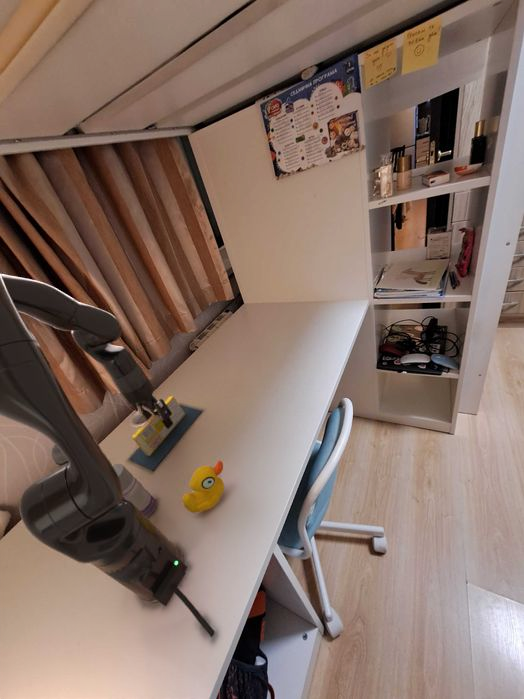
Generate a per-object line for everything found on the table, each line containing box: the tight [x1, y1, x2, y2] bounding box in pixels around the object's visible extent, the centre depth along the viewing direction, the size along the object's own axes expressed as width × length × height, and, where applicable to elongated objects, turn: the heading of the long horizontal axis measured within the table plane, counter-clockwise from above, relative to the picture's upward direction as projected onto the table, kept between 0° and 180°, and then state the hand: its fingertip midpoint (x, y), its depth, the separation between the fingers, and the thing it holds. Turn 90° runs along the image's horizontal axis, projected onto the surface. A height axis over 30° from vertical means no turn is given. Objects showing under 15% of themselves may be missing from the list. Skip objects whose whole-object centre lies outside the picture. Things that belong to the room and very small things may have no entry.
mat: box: [128, 404, 203, 472], centre depth 88 cm, size 11×22×1 cm, turn 150°
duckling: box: [182, 460, 225, 514], centre depth 64 cm, size 11×5×10 cm, turn 124°
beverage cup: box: [51, 444, 69, 467], centre depth 77 cm, size 7×7×20 cm
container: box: [112, 462, 157, 518], centre depth 66 cm, size 5×5×15 cm
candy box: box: [131, 395, 185, 456], centre depth 86 cm, size 16×2×8 cm, turn 150°
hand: (160, 422), depth 85 cm, fingers open, 8 cm apart
